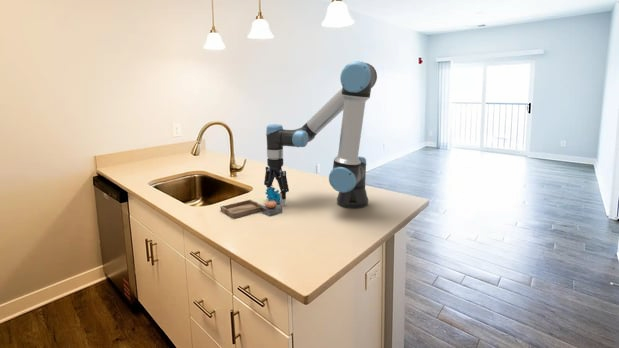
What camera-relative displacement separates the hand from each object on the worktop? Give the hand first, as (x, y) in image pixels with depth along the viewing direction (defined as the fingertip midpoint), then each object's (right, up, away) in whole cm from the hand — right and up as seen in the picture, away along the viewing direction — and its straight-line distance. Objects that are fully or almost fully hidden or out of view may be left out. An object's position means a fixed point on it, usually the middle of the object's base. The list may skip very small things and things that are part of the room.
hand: (276, 202), depth 169 cm
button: (-1, -1, -13) cm, 13 cm away
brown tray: (-14, -3, -10) cm, 18 cm away
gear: (-1, 0, +1) cm, 1 cm away
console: (-1, -3, -12) cm, 13 cm away
